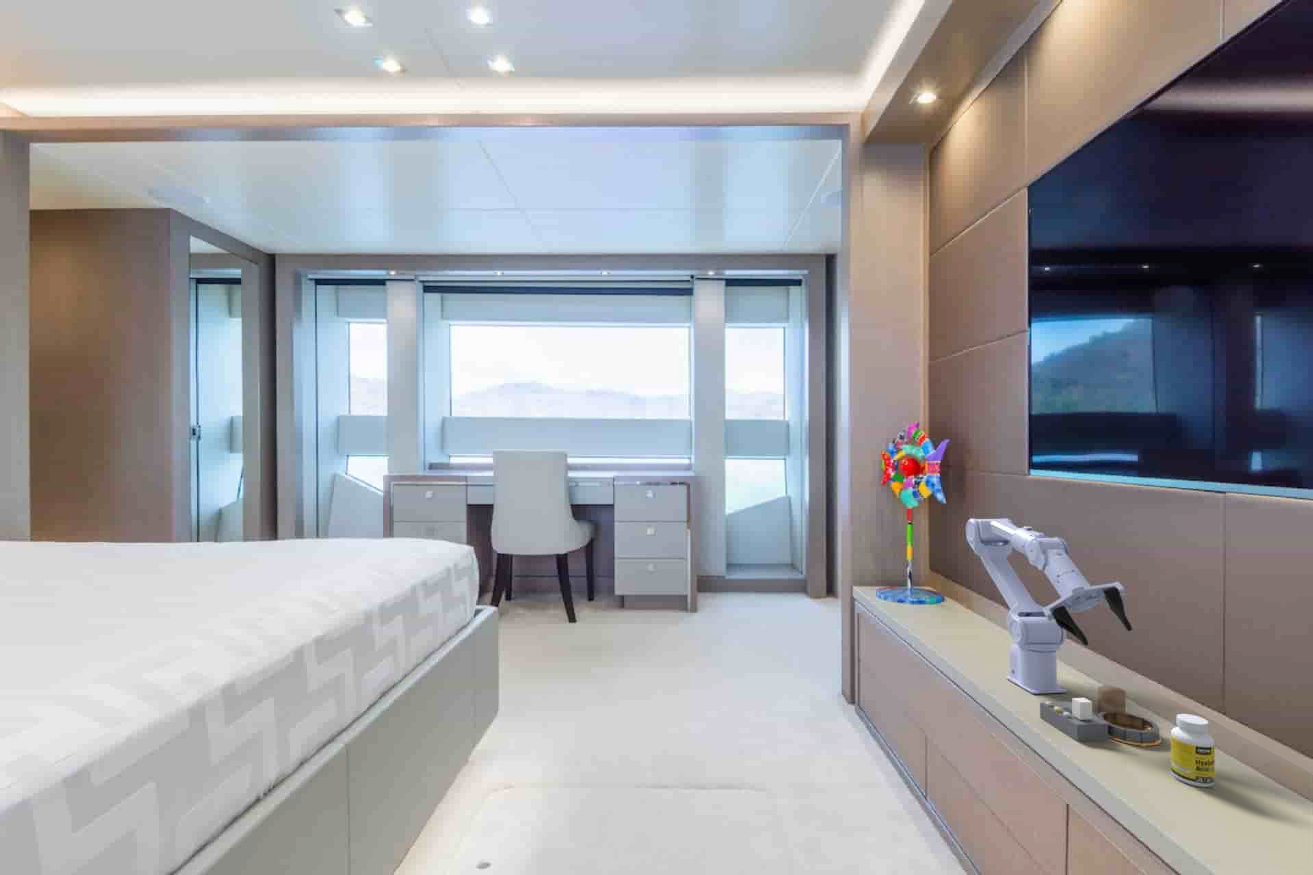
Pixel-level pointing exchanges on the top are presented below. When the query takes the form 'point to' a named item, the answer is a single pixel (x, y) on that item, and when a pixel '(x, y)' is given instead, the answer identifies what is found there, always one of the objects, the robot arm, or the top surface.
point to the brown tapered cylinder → (1111, 699)
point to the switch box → (1073, 722)
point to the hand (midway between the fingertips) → (1107, 634)
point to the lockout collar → (1131, 728)
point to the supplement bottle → (1192, 751)
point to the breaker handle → (1082, 708)
